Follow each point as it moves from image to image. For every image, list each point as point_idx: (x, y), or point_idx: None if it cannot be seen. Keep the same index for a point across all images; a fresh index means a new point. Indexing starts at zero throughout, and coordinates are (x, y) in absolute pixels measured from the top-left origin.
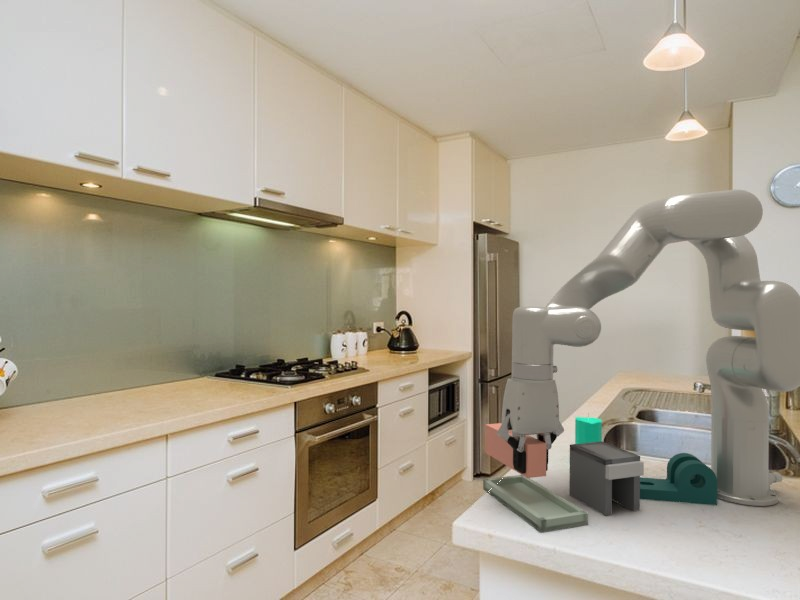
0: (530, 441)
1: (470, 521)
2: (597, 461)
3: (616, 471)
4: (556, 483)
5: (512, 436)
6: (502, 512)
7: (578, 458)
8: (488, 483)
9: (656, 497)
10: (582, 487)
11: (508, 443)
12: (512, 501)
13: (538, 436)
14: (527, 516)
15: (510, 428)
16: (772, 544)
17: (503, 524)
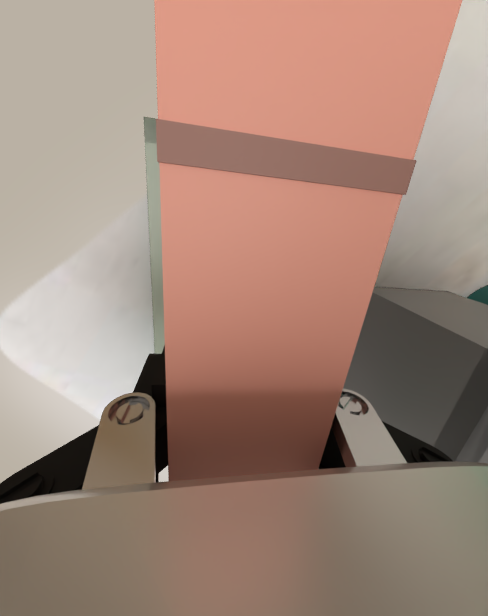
0: (244, 468)
1: (18, 330)
2: None
3: None
4: (406, 198)
5: (87, 487)
6: (130, 313)
7: (440, 384)
8: (146, 169)
9: None
10: (369, 349)
11: (60, 453)
12: (154, 326)
13: (346, 458)
14: None
15: (61, 511)
16: None
17: (101, 365)
